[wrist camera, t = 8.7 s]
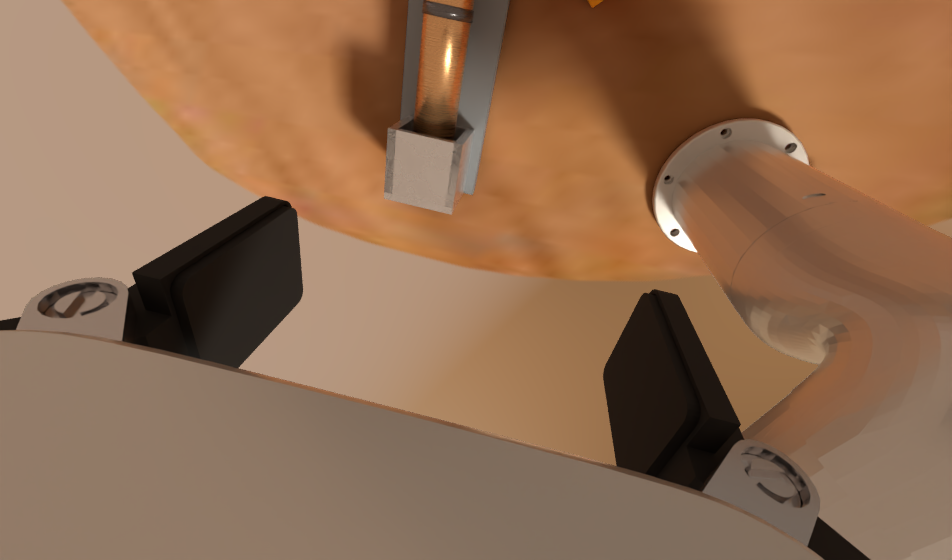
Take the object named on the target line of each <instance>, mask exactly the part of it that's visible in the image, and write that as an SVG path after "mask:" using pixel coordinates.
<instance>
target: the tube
mask: <svg viewBox="0 0 952 560" xmlns="http://www.w3.org/2000/svg"><path fill="white" fill-rule="evenodd" d="M473 6H474V0H423V7H422V13H423V23H422V34H421V45H420V56H419V68H418V79H417V90H416V102H415V113H414V124H413V132H417V133H421V134H425V135H430V136H434V137H438V138H443V139H447V140H451V141H452V140H454V136H455V129H456V122H457V115H458V109H459V102H460V95H461V88H462V81H463V74H464V68H465V61H466V54H467V47H468V40H469V33H470V27H471V23H472V22H473V15H474V11H473Z"/></svg>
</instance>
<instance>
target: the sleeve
mask: <svg viewBox="0 0 952 560" xmlns="http://www.w3.org/2000/svg"><path fill="white" fill-rule="evenodd" d="M413 124H414V116H413V115H409V116H407V117H405V118H404V119H402V120H400V121H399V122H397V123H395V124H394V125H392V126H390V127H389V128H388V135H387V153H386V172H385V190H384V199H388V200H392V201H396V202H401V203H405V204H409V205H413V206H418V207H422V208H426V209H430V210H434V211H439V212H443V213H447V214H451V215H452V213H453V211H454V209H455V207H456V206H457V204H458V202H459V200H460V198H461V196H462V194H463V193H464V189H465V183H466V177H467V172H468V166H469V160H470V154H471V148H472V143H473V137H474V131H475V129H470V128H466V127H462V126H457V125H456V129H455V136H454V140H452V141H451V140H447V139H443V138H438V137H434V136H430V135H425V134H421V133H417V132H413Z"/></svg>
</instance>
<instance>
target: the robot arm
mask: <svg viewBox="0 0 952 560" xmlns="http://www.w3.org/2000/svg"><path fill="white" fill-rule="evenodd" d="M723 129H725V132H724V133H723V134H720V133H721V131H722V130H723ZM788 144H789V145H788ZM787 145H788V146H787ZM786 146H787V147H786ZM785 147H786V148H785ZM668 175H669V178H668V179H664V178H665V177H666V176H668ZM652 205H653V212H654V215H655V218H656V221H657V223H658V225H659V227H660V228H661V230H662V232H663V233H664V234H665V235H666V236H667V238H668V239H670V240H671V241H672V242H674V243H675V244H677V245H678V246H680V247H682V248H684V249H687V250H689V251H693V252H698V254H699V255H700V257H701V258H702V260H703V261H704V263H705V264H706V266H707V267H708V269H709V270H710V272H711V273H712V275H713V276H714V278H715V279H716V281H717V282H718V284H719V285H720V287H721V288H722V290H723V291H724V293H725V294H726V296H727V297H728V299H729V300H730V302H731V303H732V305H733V306H734V308H735V309H736V311H737V312H738V313H739V315H740V316H741V318H742V319H743V321H744V322H745V324H746V325H747V326H748V327H749V329H750V330H751V331H752V332H753V333H754V334H755V335H756V336H757V337H758V338H759V339H761V340H762V341H763V342H764V343H766V344H767V345H769V346H770V347H772V348H774V349H776V350H777V351H779V352H782V353H784V354H786V355H788V356H791V357H794V358H797V359H800V360H803V361H806V362H810V363H814V364H818V365H819V366H818V368H817V369H816V370H815V371H813V372H812V373H811V374H810V375H809V376H808V377H807V378H806V379H805V380H803V381H802V382H801V383H800V384H799V385H798V386H796V387H795V388H794V389H793V390H792V391H791V393H790V394H789V395H787V396H786V397H785V398H784V399H782V400H781V401H780V402H779V403H777V404H776V405H775V406H774V407H773V408H772V409H770V410H769V411H768V412H767V413H765V414H764V415H763V416H761V417H760V418H759V419H758V420H757V421H755V422H754V423H753V424H752V425H750V426H749V427H748V428H747V429H745V430H744V431H743V432H742V433H741V431H740V429H739V426H740V425H741V424H740V422H739V420H738V418H737V416H736V414H735V412H734V410H733V408H732V405H731V404H730V401H729V399H728V397H727V395H726V393H725V391H724V389H723V387H722V385H721V383H720V381H719V379H718V377H717V374H716V372H715V370H714V368H713V366H712V364H711V362H710V360H709V358H708V356H707V354H706V352H705V350H704V348H703V345H702V343H701V341H700V339H699V337H698V335H697V333H696V331H695V329H694V327H693V325H692V323H691V321H690V319H689V317H688V315H687V312H686V310H685V308H684V306H683V304H682V302H681V300H680V298H679V297H678V295H676V294H672V293H668V292H664V291H659V290H655V289H654V290H652V291H651V292H650V293H649V294H648V293H644V294H643V295H642V296H641V297H640V299H639V301H638V303H637V305H636V307H635V309H634V311H633V313H632V315H631V317H630V319H629V321H628V323H627V325H626V327H625V328H624V330H623V332H622V334H621V336H620V338H619V340H618V342H617V344H616V346H615V348H614V350H613V352H612V354H611V356H610V357H609V359H608V361H607V363H606V366H605V368H604V374H603V380H604V386H605V393H606V399H607V405H608V412H609V419H610V425H611V432H612V438H613V445H614V451H615V458H616V464H617V466H614V465H610V464H606V463H603V462H599V461H596V460H592V459H588V458H585V457H581V456H577V455H574V454H570V453H566V452H562V451H558V450H555V449H551V448H547V447H543V446H539V445H536V444H532V443H528V442H524V441H520V440H517V439H512V438H509V437H505V436H501V435H497V434H494V433H490V432H486V431H482V430H478V429H475V428H471V427H467V426H463V425H459V424H455V423H451V422H447V421H444V420H440V419H436V418H432V417H428V416H424V415H420V414H416V413H413V412H409V411H405V410H401V409H397V408H393V407H389V406H385V405H381V404H377V403H374V402H370V401H366V400H362V399H358V398H354V397H349V396H346V395H342V394H338V393H334V392H330V391H326V390H323V389H318V388H315V387H311V386H307V385H303V384H298V383H295V382H291V381H287V380H283V379H279V378H275V377H270V376H266V375H263V374H259V373H255V372H251V371H246V370H243V369H239V367H240V365H241V364H242V363H243V362H244V361H245V360H246V359H247V358H248V357H249V356H250V355H251V353H252V352H253V351H254V350H255V349H256V348H257V347H258V346H259V345H260V344H261V343H262V342H263V341H264V339H265V338H266V337H267V336H268V335H269V334H270V333H271V332H272V331H273V330H274V329H275V328H276V327H277V325H278V324H279V323H280V322H281V321H282V320H283V319H284V318H285V317H286V316H287V315H288V314H289V313H290V311H291V310H292V309H293V308H294V307H295V306H296V305H297V304H298V303H299V301H300V300H301V297H302V294H303V284H302V271H301V258H300V245H299V233H298V220H297V212H296V210H295V209H294V208H292V206H291V204H290V203H289V202H288V201H284V200H280V199H276V198H272V197H267V196H265V197H262V198H260V199H259V200H257V201H255V202H254V203H252V204H250V205H248V206H246V207H245V208H243V209H241V210H240V211H238V212H237V213H234V214H233V215H231V216H229V217H227V218H226V219H224V220H222V221H221V222H219V223H217V224H215V225H214V226H212V227H210V228H209V229H207V230H205V231H203V232H202V233H200V234H198V235H196V236H195V237H193V238H191V239H189V240H188V241H186V242H184V243H182V244H181V245H179V246H177V247H175V248H174V249H172V250H170V251H169V252H167V253H165V254H163V255H162V256H160V257H158V258H156V259H155V260H153V261H151V262H149V263H148V264H146V265H144V266H143V267H141V268H139V269H137V270H136V271H134V272H133V273H132V274H133V277H134V280H135V282H136V284H134V285H133V286H131V287H130V288H127V286H126V285H125V284H123V283H122V282H121V281H118V280H115V279H111V278H100V277H98V278H84V279H78V280H72V281H68V282H65V283H61V284H58V285H55V286H53V287H50V288H48V289H46V290H44V291H42V292H40V293H39V294H37V295H36V296H35V297H33V298H32V299H31V300H30V301H29V303H28V304H27V305H26V307H25V309H24V311H23V314H22V317H19V318H13V319H7V320H2V321H0V560H952V238H951V237H949V236H947V235H945V234H942V233H940V232H938V231H936V230H934V229H932V228H930V227H927V226H925V225H923V224H921V223H919V222H917V221H916V220H914V219H912V218H910V217H908V216H906V215H904V214H902V213H900V212H898V211H896V210H894V209H892V208H890V207H888V206H886V205H884V204H883V203H881V202H879V201H877V200H875V199H873V198H871V197H869V196H867V195H865V194H863V193H861V192H859V191H857V190H856V189H854V188H852V187H850V186H848V185H846V184H844V183H842V182H840V181H838V180H836V179H834V178H832V177H830V176H829V175H827V174H825V173H823V172H821V171H819V170H817V169H815V168H813V167H811V166H810V165H809V159H808V154H807V152H806V150H805V148H804V146H803V144H802V143H801V141H800V140H799V139H798V138H797V137H796V136H795V135H794V134H793V133H792V132H790V131H789V130H787V129H786V128H784V127H782V126H780V125H778V124H775V123H773V122H770V121H765V120H761V119H753V118H740V119H734V120H728V121H724V122H721V123H718V124H715V125H712V126H709V127H707V128H705V129H703V130H701V131H700V132H698V133H696V134H694V135H693V136H692V137H690V138H689V139H687V140H686V141H685V142H683V143H682V144H681V145H680V146H679V147H678V148H677V149H676V150H675V151H674V152H673V153H672V154H671V155H670V157H669V158H668V159H667V161H666V162H665V163H664V165H663V166H662V168H661V170H660V172H659V174H658V176H657V178H656V182H655V185H654V189H653V197H652ZM672 229H674V230H673V231H671V230H672Z"/></svg>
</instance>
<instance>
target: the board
mask: <svg viewBox="0 0 952 560" xmlns="http://www.w3.org/2000/svg"><path fill="white" fill-rule="evenodd" d="M509 4H510V0H474V6H473V11H474V15H473V22H472V23H471V27H470V33H469V40H468V47H467V54H466V61H465V68H464V74H463V81H462V88H461V95H460V102H459V109H458V115H457V122H456V125H457V126H462V127H466V128H470V129H475V131H474V137H473V143H472V148H471V154H470V160H469V166H468V172H467V177H466V183H465V189H464V193H466V194H471V195H473V193H474V190H475V185H476V180H477V174H478V169H479V164H480V158H481V153H482V148H483V142H484V137H485V132H486V126H487V121H488V116H489V110H490V105H491V100H492V94H493V89H494V84H495V78H496V73H497V68H498V62H499V57H500V52H501V46H502V41H503V36H504V30H505V25H506V20H507V14H508V9H509ZM422 7H423V0H409V2H408V16H407V30H406V44H405V59H404V73H403V87H402V101H401V115H400V120H402V119H404V118H405V117H407V116H409V115H413V116H414V113H415V102H416V90H417V79H418V68H419V56H420V45H421V34H422V23H423V13H422Z"/></svg>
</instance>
